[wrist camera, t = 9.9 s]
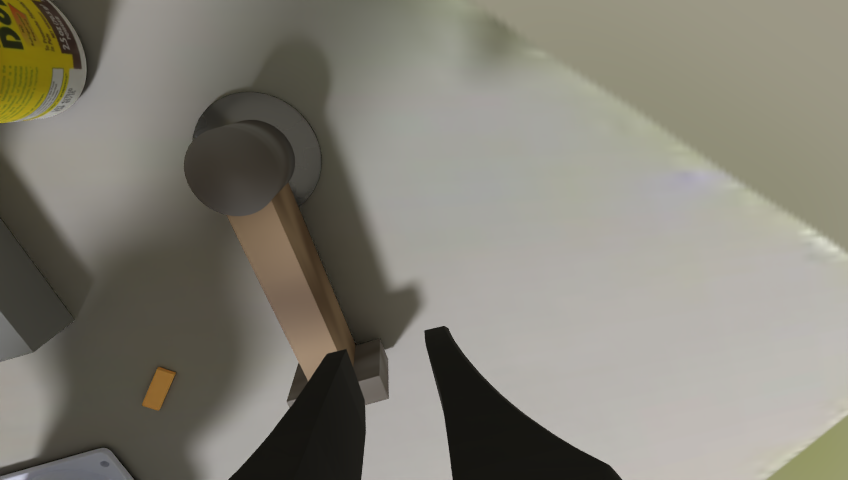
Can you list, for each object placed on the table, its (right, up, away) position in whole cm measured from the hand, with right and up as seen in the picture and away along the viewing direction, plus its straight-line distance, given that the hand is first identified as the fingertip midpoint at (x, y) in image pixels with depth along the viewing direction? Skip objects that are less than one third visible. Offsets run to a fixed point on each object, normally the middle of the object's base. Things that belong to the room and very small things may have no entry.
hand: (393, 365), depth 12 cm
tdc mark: (-15, -5, +12) cm, 20 cm away
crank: (-6, +3, +9) cm, 11 cm away
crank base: (-7, +8, +8) cm, 13 cm away
